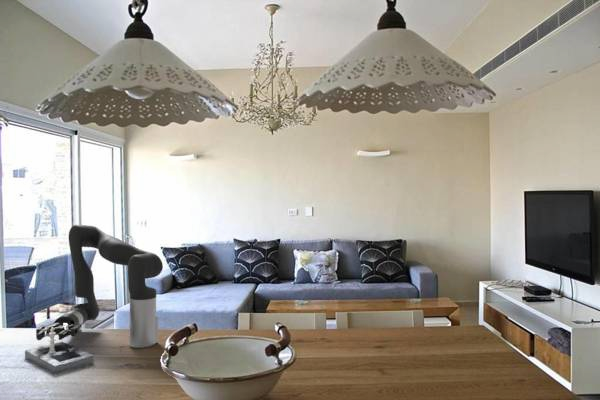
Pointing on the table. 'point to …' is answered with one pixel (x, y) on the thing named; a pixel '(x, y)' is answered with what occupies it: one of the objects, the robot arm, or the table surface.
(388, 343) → the table surface
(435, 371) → the table surface
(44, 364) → the grey two-window frame
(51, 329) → the chess piece
